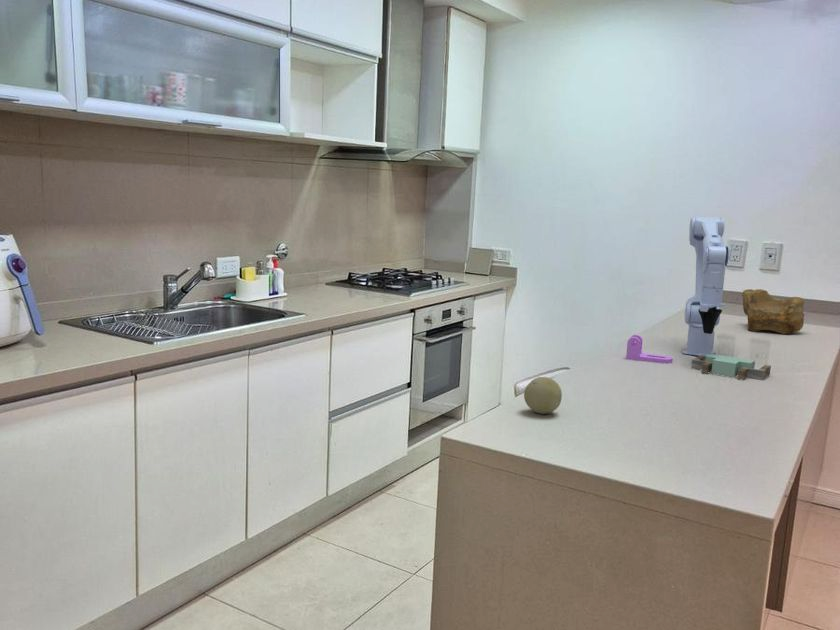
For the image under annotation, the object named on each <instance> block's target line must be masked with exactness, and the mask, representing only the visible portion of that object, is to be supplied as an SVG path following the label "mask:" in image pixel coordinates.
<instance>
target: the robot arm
mask: <svg viewBox="0 0 840 630" xmlns="http://www.w3.org/2000/svg"><path fill="white" fill-rule="evenodd" d="M725 223H726V222H725V219H724V218H723V217H706V216H705V217H702V216H701V217H699V216H692V217H691V219H690V221H689V232H688V233H689V236H688V237H689V238H688V240H689V245H690V246H692V247H693V248H694V250H695V255H696V257H695V258H696V259H695V261H696V262H695V291H694V292H695V294H694V295H693V296H691V297H690V298H688V299H687V301H686V302H685V308H684V322H685V324H686V325H688V330H687V341H686V349H685V350H683V351H682V352H681V353H682V354H683V355H689V356H690V355H691V356H696V357H698V356H700V355H705V356H707V355H710V354H715V355H716V353H717V351H715V350H714V344H715V333H716V332H715V327H717V326H718V325H719V323H720V319H721V314H722V312H723V309H721V307H726V306H727V304H726V303H725V302H724V303H723V293H724V284H725V275H726V267H727V266H728V263H729V259H730V248H729V246H728V245H725V243H724V240H723V239H724V238H723V235H724V233H725V225H726V224H725Z"/></svg>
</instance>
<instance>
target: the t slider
mask: <svg viewBox="0 0 840 630" xmlns="http://www.w3.org/2000/svg"><path fill="white" fill-rule="evenodd" d="M705 361H708V362H713V363H712V371H711V373H714V374H719V375H718V376H720V375H724V376H723V377H726V376H729V377H728V378H732V377H735V376H736V377H738V376H737V375H738V370H739V369H741V368H742V367H745V368H752V369H755V364H756V360H753V359H746V358H742V357H741V358H740V357H734V356H729V355H728V356H727V355H722V354H721V355H719V354H716V353H715V354H710V355H707V356H706V360H705ZM714 374H713V375H714ZM736 377H735V378H736Z"/></svg>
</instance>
